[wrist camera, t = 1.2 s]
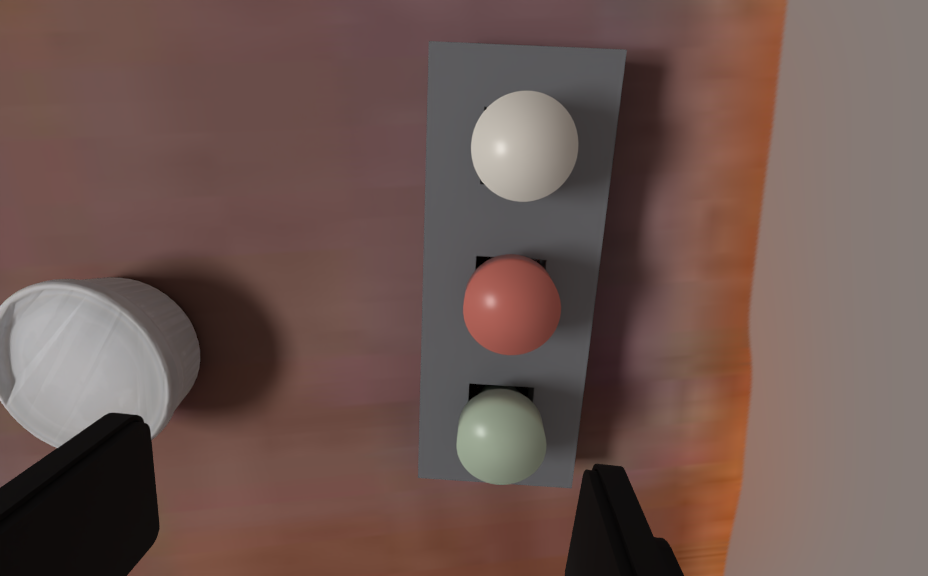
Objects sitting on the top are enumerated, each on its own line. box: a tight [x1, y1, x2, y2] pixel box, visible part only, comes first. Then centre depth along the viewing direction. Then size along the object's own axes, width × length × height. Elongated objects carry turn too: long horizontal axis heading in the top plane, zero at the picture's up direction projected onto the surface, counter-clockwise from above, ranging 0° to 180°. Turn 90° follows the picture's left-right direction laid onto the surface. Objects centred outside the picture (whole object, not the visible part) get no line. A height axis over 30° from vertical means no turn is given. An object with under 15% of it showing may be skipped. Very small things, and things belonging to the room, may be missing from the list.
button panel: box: [418, 41, 627, 488], centre depth 30 cm, size 26×10×3 cm, turn 177°
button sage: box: [456, 385, 546, 485], centre depth 30 cm, size 5×5×5 cm
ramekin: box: [0, 278, 200, 448], centre depth 31 cm, size 11×11×5 cm
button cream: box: [471, 91, 578, 202], centre depth 25 cm, size 5×5×5 cm
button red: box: [463, 254, 561, 355], centre depth 27 cm, size 5×5×5 cm
